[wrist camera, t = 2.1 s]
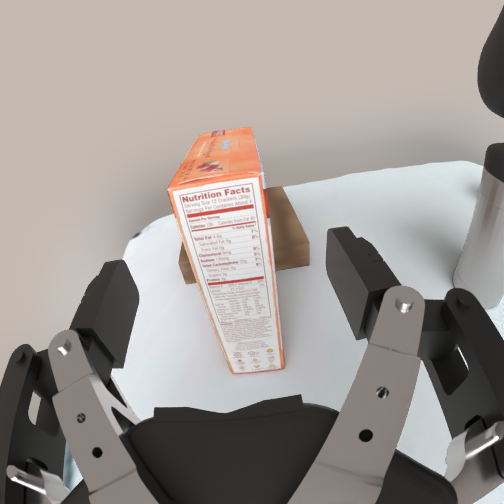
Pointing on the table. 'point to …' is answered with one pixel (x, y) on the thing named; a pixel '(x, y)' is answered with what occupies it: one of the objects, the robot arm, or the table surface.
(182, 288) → the table surface
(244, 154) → the cracker box
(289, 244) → the walnut base
